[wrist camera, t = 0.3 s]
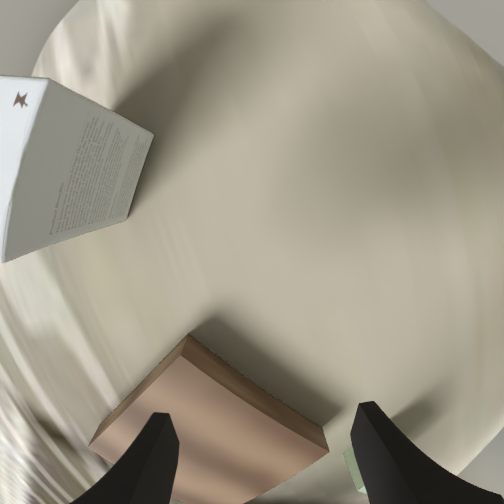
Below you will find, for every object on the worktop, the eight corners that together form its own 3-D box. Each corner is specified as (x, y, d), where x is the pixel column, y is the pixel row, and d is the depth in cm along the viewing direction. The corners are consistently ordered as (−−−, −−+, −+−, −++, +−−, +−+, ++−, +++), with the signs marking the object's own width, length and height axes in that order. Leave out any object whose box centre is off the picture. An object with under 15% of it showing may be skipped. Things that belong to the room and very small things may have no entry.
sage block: (368, 465, 24) (382, 499, 20) (343, 453, 24) (356, 490, 19) (402, 439, 24) (421, 472, 19) (380, 424, 23) (399, 460, 18)
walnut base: (217, 495, 25) (216, 516, 22) (98, 425, 22) (87, 446, 19) (322, 428, 23) (329, 451, 20) (188, 333, 21) (180, 355, 18)
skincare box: (101, 119, 18) (-21, 68, 6) (156, 134, 18) (53, 73, 6) (74, 205, 19) (-59, 228, 7) (126, 224, 19) (4, 268, 7)
